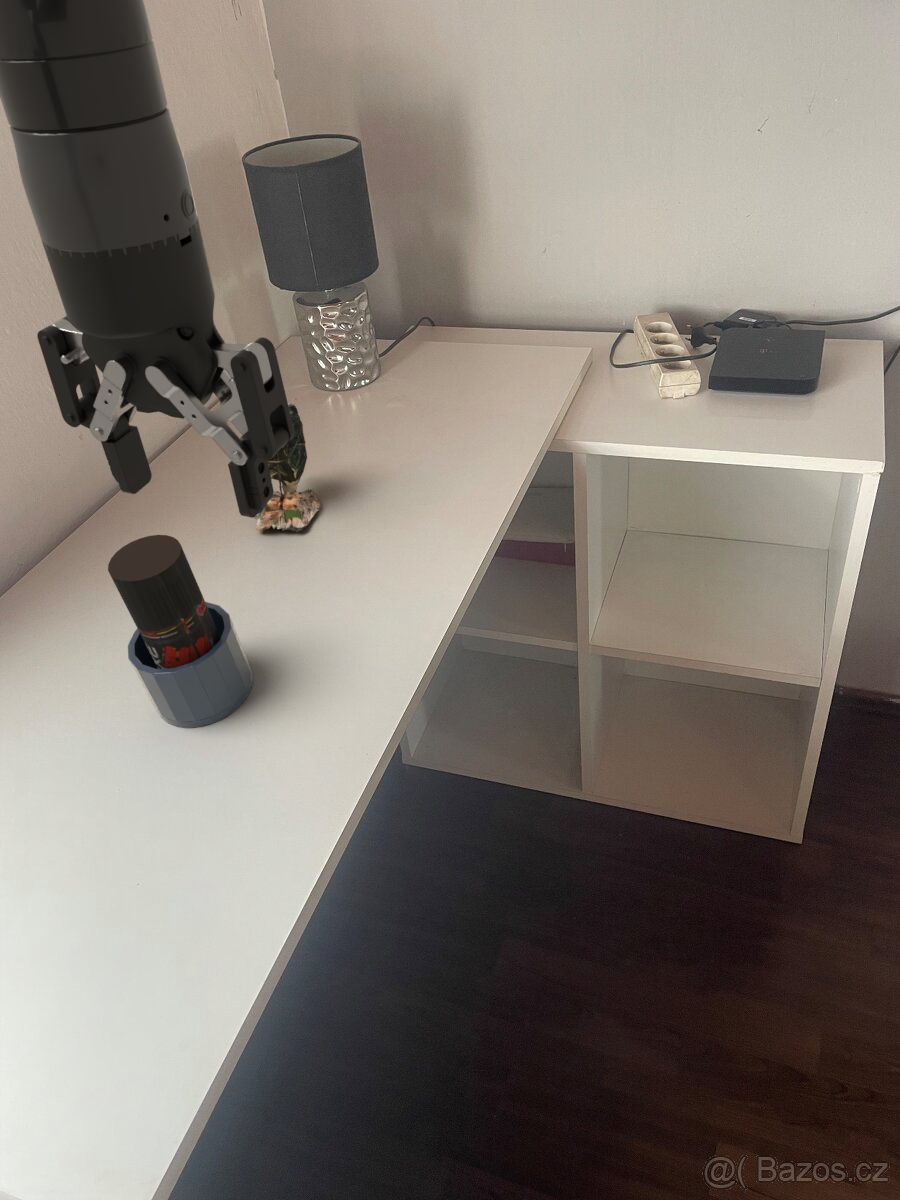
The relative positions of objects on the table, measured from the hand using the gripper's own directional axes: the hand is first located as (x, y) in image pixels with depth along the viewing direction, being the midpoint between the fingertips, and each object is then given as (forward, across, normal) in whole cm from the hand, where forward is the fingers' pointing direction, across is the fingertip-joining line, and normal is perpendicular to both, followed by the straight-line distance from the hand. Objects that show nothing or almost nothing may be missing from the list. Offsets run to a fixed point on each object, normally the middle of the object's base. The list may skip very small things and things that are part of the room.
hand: (195, 498), depth 53 cm
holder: (+28, -12, +8) cm, 32 cm away
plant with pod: (+27, -18, +36) cm, 48 cm away
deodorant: (+28, -12, +8) cm, 31 cm away
